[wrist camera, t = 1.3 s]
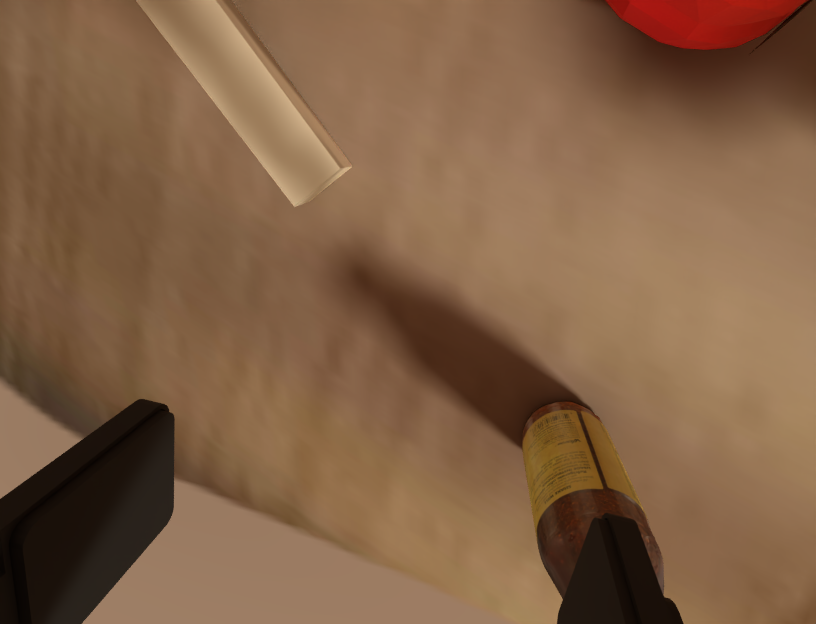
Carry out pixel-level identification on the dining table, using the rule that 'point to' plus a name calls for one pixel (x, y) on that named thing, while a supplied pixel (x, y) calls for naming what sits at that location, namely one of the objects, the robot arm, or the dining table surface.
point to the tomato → (706, 20)
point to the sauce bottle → (576, 486)
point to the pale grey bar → (251, 93)
